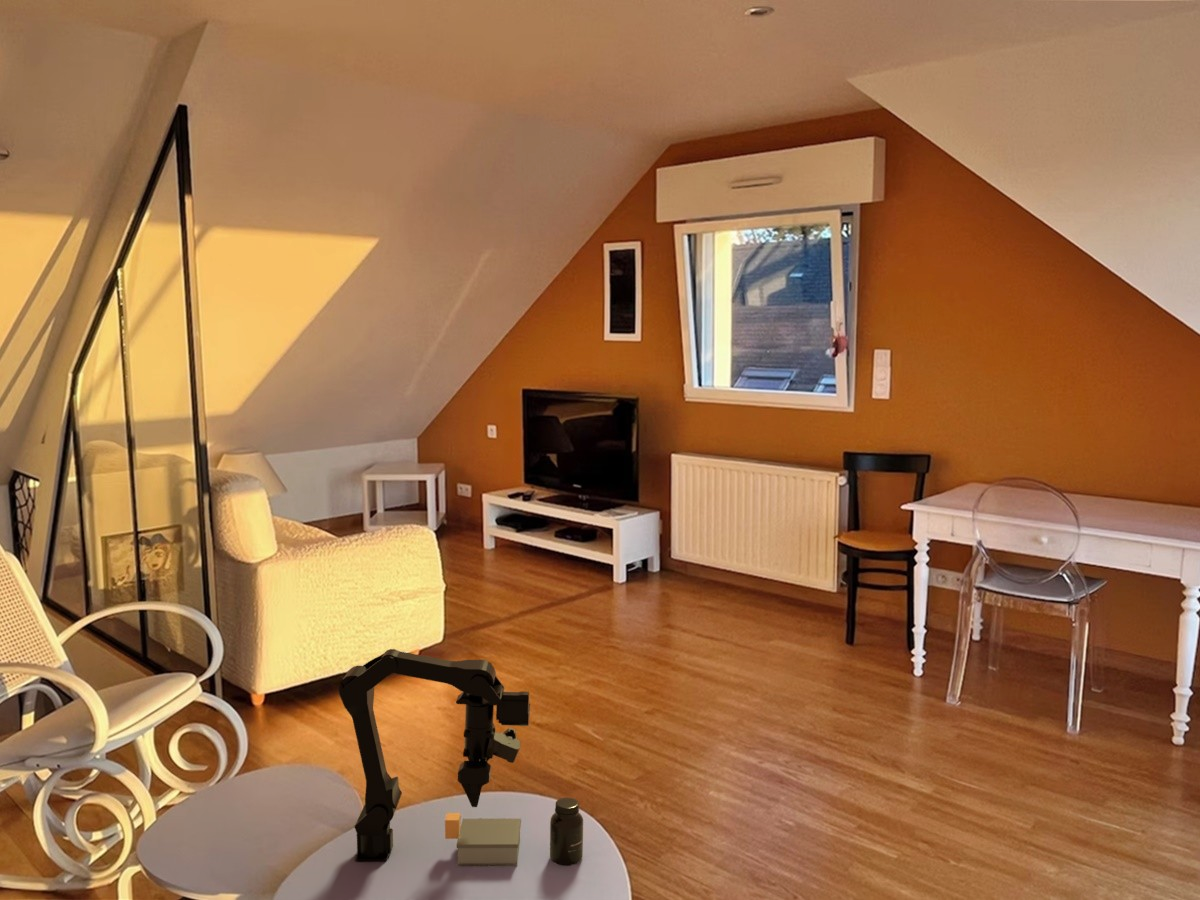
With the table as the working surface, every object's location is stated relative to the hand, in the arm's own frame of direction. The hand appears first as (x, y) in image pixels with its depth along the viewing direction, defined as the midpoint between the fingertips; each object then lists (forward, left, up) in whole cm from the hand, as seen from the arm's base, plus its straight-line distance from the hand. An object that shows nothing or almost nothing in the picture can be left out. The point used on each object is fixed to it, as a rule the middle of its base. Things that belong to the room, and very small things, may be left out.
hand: (477, 795), depth 195 cm
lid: (+1, 0, -9) cm, 10 cm away
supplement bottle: (+19, -2, -13) cm, 23 cm away
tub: (+3, 0, -13) cm, 13 cm away
